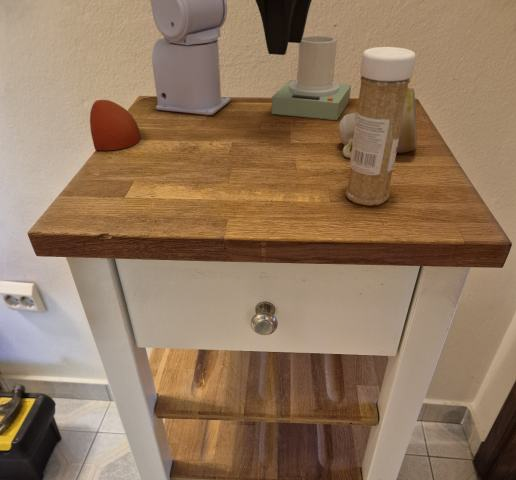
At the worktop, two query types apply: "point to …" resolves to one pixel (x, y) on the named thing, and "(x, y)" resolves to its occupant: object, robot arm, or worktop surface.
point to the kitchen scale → (311, 101)
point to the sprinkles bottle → (378, 122)
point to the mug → (406, 132)
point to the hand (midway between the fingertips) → (285, 48)
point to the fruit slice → (112, 126)
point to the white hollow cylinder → (316, 62)
